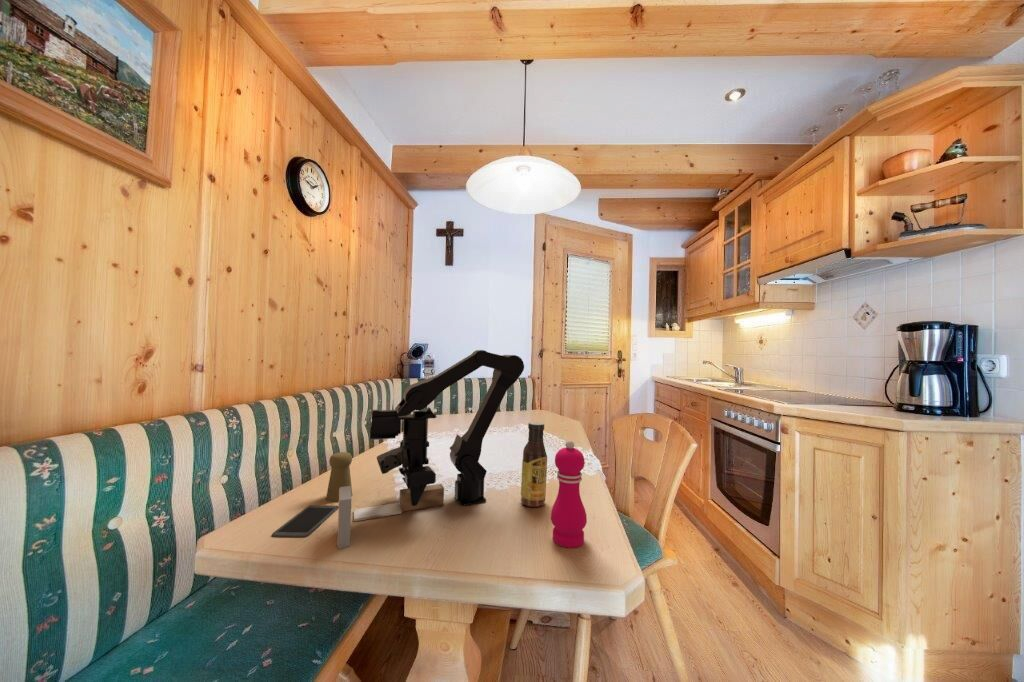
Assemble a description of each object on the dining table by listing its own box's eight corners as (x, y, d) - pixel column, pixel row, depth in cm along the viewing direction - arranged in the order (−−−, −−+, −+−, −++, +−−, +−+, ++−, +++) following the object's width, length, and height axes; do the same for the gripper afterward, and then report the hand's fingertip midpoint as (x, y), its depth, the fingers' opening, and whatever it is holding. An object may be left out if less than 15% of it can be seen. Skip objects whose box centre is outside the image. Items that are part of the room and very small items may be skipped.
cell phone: (340, 508, 84) (340, 505, 84) (306, 539, 70) (306, 535, 70) (309, 507, 84) (309, 504, 84) (269, 538, 70) (269, 534, 70)
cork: (341, 503, 86) (343, 457, 86) (320, 500, 87) (322, 455, 87) (357, 493, 92) (359, 450, 92) (337, 491, 93) (338, 449, 93)
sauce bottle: (532, 510, 84) (534, 427, 84) (515, 502, 89) (517, 422, 89) (551, 503, 88) (553, 423, 89) (533, 495, 93) (535, 419, 93)
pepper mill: (543, 534, 73) (545, 437, 74) (573, 528, 76) (575, 435, 77) (562, 552, 66) (564, 446, 67) (593, 545, 69) (595, 443, 70)
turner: (439, 498, 90) (440, 482, 90) (444, 506, 85) (445, 489, 85) (353, 511, 81) (354, 494, 81) (354, 521, 77) (354, 502, 77)
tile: (349, 529, 73) (350, 485, 74) (349, 546, 67) (351, 498, 67) (337, 531, 72) (339, 487, 73) (337, 549, 66) (339, 500, 66)
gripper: (376, 431, 90) (374, 493, 89) (383, 450, 73) (381, 526, 72) (420, 428, 95) (418, 486, 94) (437, 445, 78) (435, 517, 77)
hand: (413, 502), depth 84 cm, fingers closed on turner, 3 cm apart
